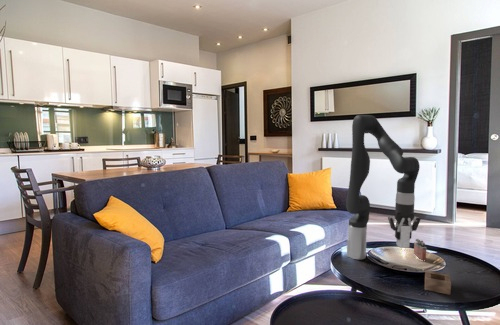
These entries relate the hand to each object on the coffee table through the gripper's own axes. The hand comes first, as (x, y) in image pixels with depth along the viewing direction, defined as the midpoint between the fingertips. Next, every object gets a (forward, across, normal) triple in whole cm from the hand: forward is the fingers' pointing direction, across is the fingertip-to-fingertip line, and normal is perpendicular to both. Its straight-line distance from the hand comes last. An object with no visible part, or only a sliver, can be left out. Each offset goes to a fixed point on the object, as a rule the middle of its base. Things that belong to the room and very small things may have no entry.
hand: (403, 239), depth 146 cm
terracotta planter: (+20, +20, +24) cm, 37 cm away
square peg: (+3, 0, 0) cm, 3 cm away
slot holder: (+20, +13, -6) cm, 24 cm away
